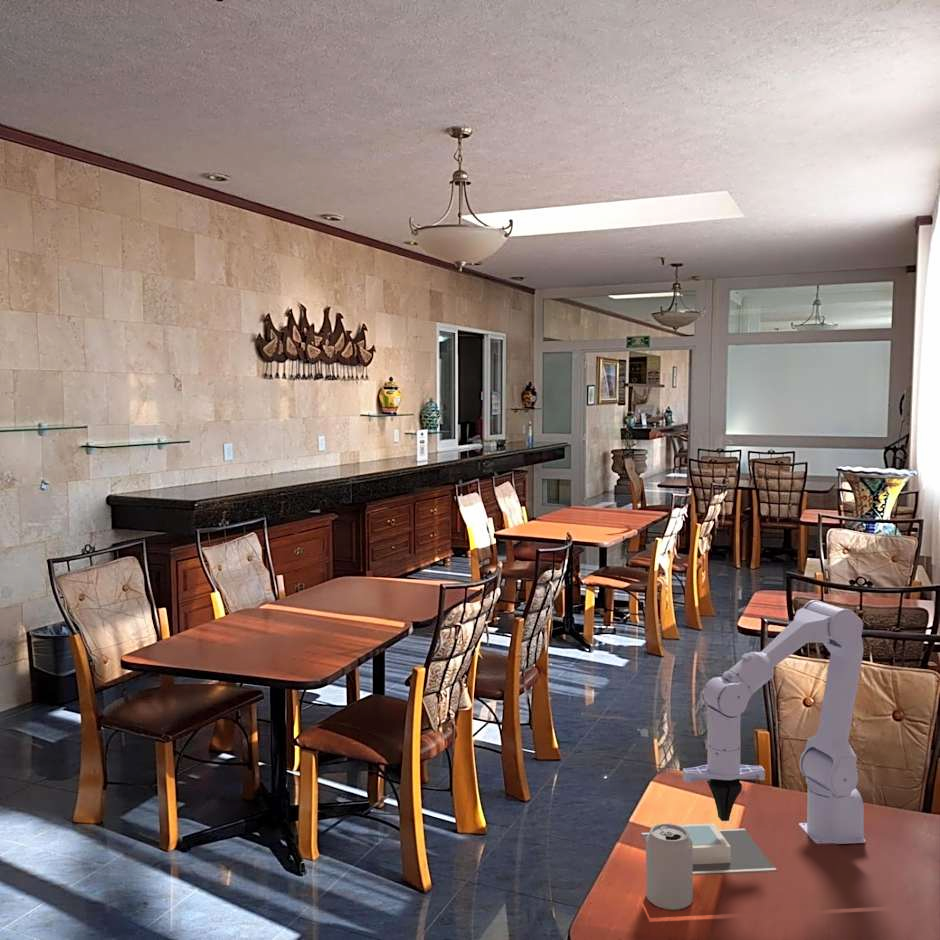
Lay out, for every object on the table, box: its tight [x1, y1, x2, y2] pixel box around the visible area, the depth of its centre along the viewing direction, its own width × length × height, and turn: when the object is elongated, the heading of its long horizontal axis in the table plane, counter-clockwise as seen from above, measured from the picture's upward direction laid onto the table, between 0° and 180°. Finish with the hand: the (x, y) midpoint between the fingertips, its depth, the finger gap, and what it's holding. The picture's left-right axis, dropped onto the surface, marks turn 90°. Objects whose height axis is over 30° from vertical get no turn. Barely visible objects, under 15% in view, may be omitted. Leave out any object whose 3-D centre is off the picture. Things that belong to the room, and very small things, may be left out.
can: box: [645, 823, 694, 911], centre depth 146 cm, size 8×8×12 cm
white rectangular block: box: [677, 822, 731, 864], centre depth 162 cm, size 3×9×8 cm
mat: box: [640, 827, 778, 876], centre depth 162 cm, size 20×16×1 cm
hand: (723, 818), depth 162 cm, fingers closed
